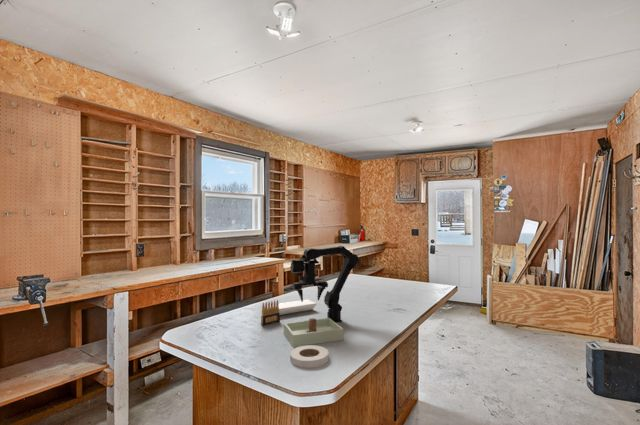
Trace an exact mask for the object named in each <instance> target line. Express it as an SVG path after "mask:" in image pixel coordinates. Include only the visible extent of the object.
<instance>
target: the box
mask: <svg viewBox="0 0 640 425" xmlns="http://www.w3.org/2000/svg"><path fill="white" fill-rule="evenodd" d="M315 319H316V332H309V319H307V320H302V321H301V320H300V321H292V322H284V323H283V335H284V336H285V338H286V339H287V340H288V342H289V343H290V344H291V346H292V347H293V348H297V347H300V346H306V345H316V344H323V343H330V342H336V341H337V342H338V341H343V340H344V328H343V327H342V326H341V325H339V324H338V322H334V321H333V320H331V319H330V318H315Z"/></svg>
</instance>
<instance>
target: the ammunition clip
mask: <svg viewBox="0 0 640 425" xmlns="http://www.w3.org/2000/svg"><path fill="white" fill-rule="evenodd" d="M273 304H274V306H273ZM278 304H279V301H278V299H276V300H271V302H270V301H268V302H267V301H265V303H264V302H262V306H261V318H260V319H261V322H260V325H261V326H263V327H264V326H269V325H273V324H276V323H277V324H278V323H279V322H280V321H281V320H280V316H281V315H279V305H278ZM267 305H268V308H267ZM270 305H271V308H270Z"/></svg>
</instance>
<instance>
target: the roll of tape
mask: <svg viewBox="0 0 640 425" xmlns="http://www.w3.org/2000/svg"><path fill="white" fill-rule="evenodd" d="M329 354H330V353H329V350H328V349H327V348H326V347H323V346H321V345H316V344H310V345H303V346H296V347H294V349H292V350H291V351H290V353H289V361H290V363H292V364H293V365H294V366H296V367H300V368H308V369H309V368H318V367H321V366H323V365H326V364H327V363H328V362H329Z"/></svg>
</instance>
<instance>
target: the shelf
mask: <svg viewBox="0 0 640 425" xmlns="http://www.w3.org/2000/svg"><path fill="white" fill-rule="evenodd" d="M278 305H279V316H282V315H288V314H294V313H300V312H308V311H313V310H314V309H315V307H317V302H315V301H312V300H310V299H308V298H307V299H303V302H301V299H299V300H294V301H286V302H280V303H279V302H278ZM273 306H274V303H273ZM267 308H268V304H267ZM270 308H271V304H270Z"/></svg>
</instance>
